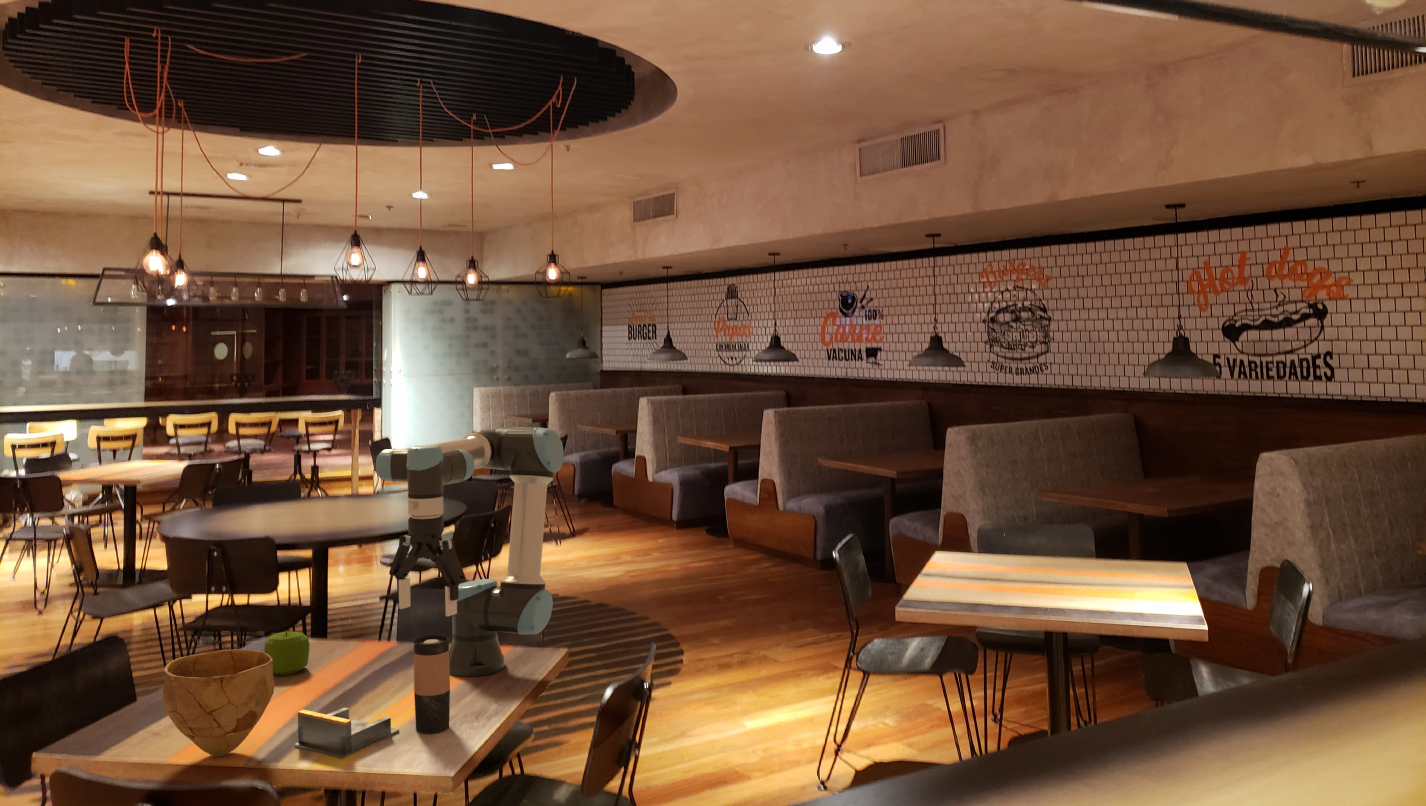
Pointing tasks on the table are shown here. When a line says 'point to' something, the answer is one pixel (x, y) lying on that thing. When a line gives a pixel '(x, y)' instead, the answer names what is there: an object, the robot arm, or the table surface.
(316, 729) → the grey holder
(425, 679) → the travel mug
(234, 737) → the bowl
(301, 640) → the apple
